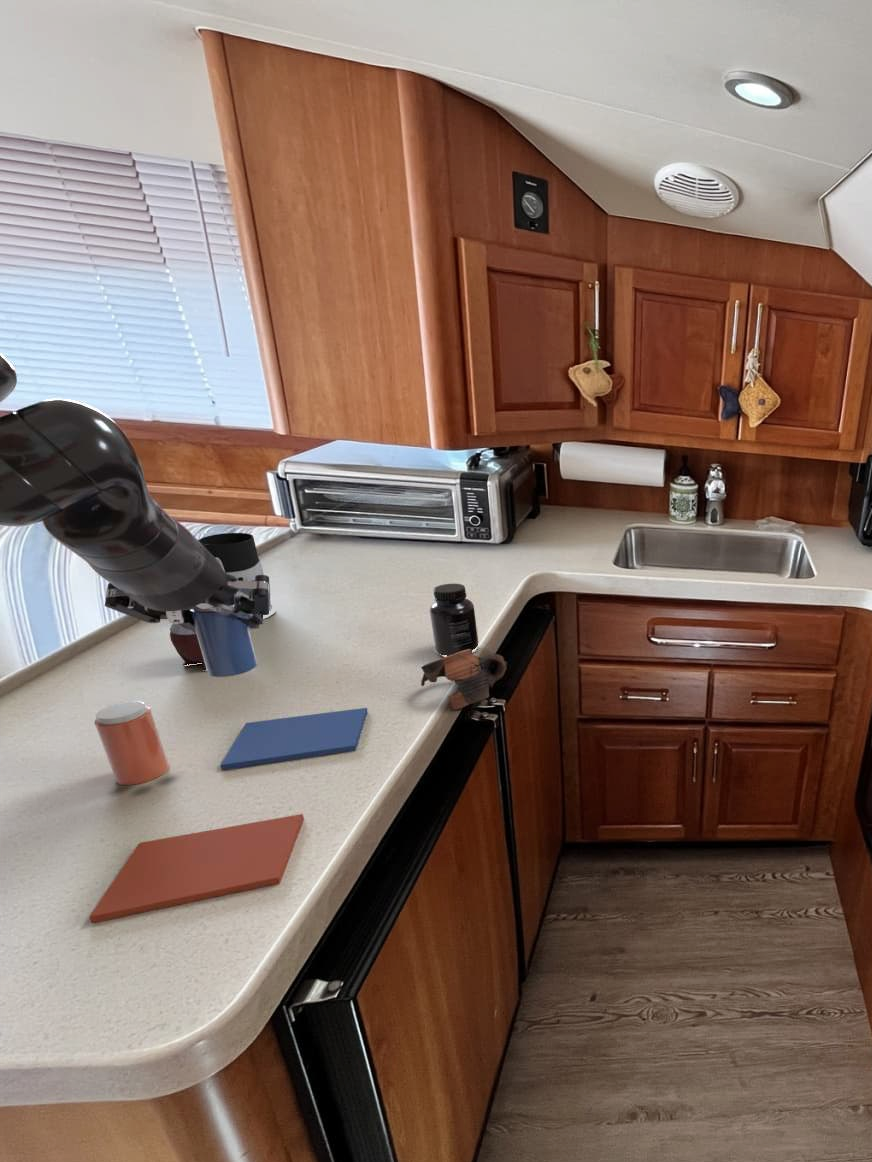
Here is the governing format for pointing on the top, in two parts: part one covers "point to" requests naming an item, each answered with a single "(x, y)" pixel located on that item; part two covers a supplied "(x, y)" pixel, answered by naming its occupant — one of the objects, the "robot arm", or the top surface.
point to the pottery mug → (466, 675)
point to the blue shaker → (224, 643)
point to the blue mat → (295, 738)
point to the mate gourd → (186, 645)
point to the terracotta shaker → (131, 742)
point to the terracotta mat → (200, 867)
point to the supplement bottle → (453, 620)
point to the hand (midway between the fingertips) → (228, 623)
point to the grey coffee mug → (235, 554)
